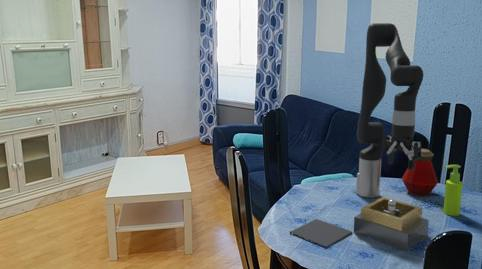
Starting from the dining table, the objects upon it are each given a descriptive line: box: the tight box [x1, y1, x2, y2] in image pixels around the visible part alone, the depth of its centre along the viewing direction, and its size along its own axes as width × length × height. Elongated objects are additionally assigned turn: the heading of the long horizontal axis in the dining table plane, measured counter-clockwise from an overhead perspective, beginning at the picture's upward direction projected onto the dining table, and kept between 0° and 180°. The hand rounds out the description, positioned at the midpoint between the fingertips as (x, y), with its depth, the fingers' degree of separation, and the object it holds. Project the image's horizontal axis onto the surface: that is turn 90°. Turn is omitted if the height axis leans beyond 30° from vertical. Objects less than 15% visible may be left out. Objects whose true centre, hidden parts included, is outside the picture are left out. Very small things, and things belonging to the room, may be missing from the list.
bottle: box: [401, 148, 439, 197], centre depth 188 cm, size 16×14×20 cm
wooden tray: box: [360, 196, 423, 232], centre depth 149 cm, size 15×15×4 cm
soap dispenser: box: [442, 164, 464, 217], centre depth 165 cm, size 6×7×20 cm
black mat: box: [289, 218, 353, 249], centre depth 152 cm, size 16×16×1 cm
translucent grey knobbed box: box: [353, 199, 430, 252], centre depth 149 cm, size 20×16×13 cm
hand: (400, 166), depth 150 cm, fingers open, 8 cm apart
